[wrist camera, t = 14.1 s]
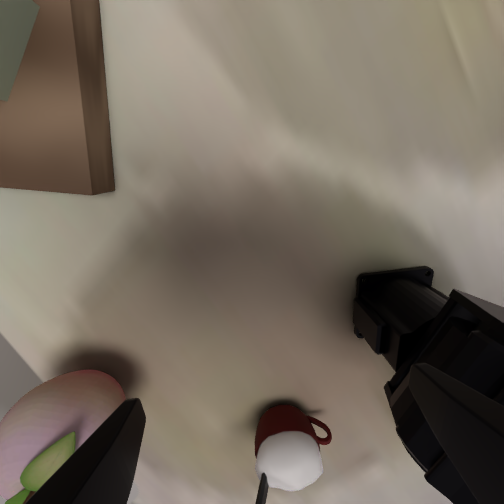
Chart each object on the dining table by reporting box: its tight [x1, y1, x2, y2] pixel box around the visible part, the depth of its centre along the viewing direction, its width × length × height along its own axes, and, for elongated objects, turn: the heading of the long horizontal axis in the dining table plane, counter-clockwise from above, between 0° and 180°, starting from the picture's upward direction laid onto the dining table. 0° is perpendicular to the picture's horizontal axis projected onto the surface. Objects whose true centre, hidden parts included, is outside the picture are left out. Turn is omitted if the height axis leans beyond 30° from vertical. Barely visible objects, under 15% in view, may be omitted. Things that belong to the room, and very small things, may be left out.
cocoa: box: [255, 405, 332, 504], centre depth 21 cm, size 10×6×12 cm, turn 78°
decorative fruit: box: [0, 370, 126, 504], centre depth 19 cm, size 9×8×10 cm
